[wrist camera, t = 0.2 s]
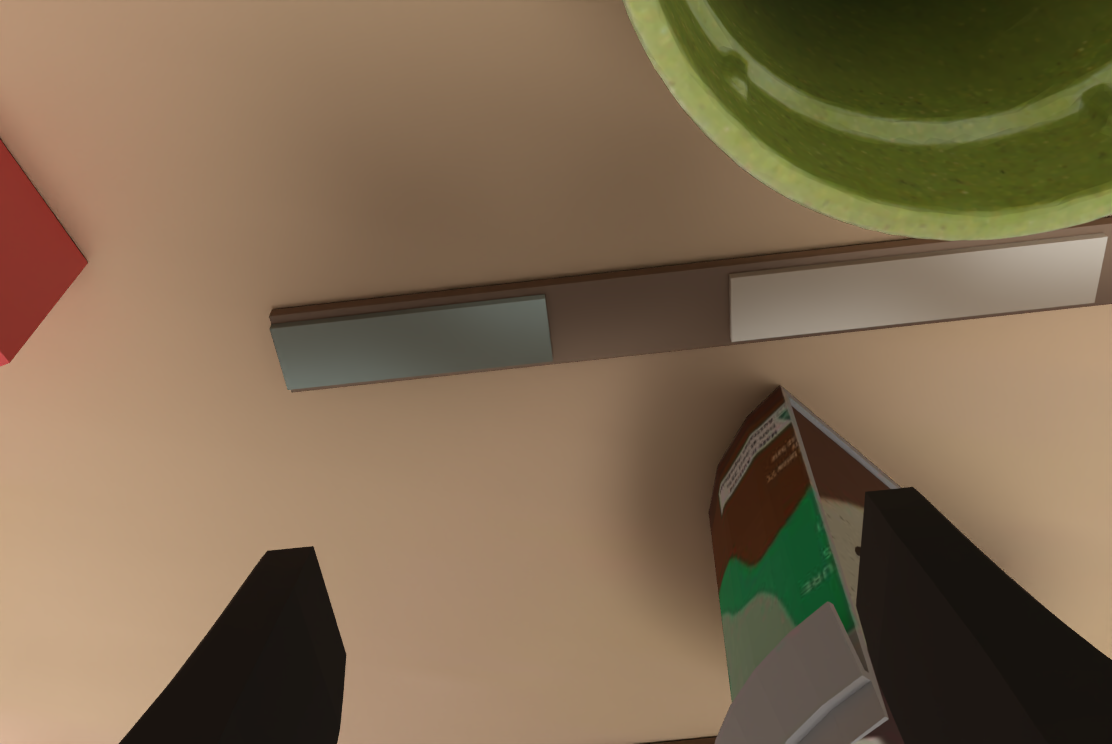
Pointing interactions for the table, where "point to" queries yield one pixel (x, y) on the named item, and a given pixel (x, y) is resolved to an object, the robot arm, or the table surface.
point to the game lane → (690, 308)
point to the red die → (29, 258)
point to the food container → (795, 582)
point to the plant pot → (902, 106)
